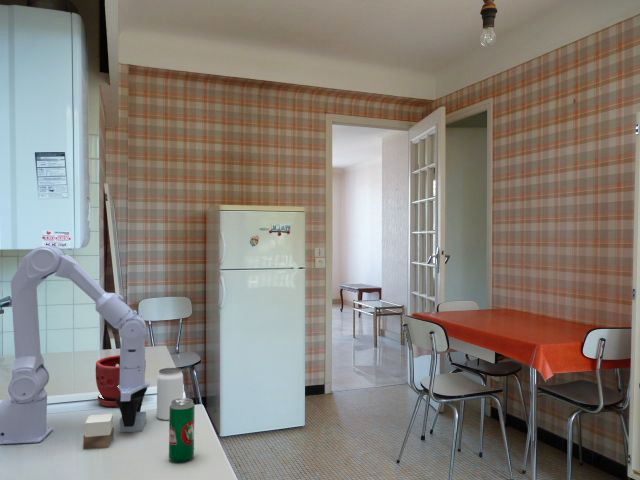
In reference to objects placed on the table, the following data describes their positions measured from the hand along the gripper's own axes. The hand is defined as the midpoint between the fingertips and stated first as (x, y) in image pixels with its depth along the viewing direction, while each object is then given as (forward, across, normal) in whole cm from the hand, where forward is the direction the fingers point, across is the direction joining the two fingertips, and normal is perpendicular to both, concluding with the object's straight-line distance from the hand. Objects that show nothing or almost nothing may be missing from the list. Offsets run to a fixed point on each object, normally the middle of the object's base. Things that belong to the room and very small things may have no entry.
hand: (131, 421), depth 119 cm
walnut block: (+2, -9, +5) cm, 10 cm away
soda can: (+2, -19, -14) cm, 24 cm away
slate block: (+1, 0, 0) cm, 1 cm away
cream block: (-1, -9, +5) cm, 11 cm away
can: (+2, +7, -8) cm, 11 cm away
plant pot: (+2, +21, +7) cm, 22 cm away
